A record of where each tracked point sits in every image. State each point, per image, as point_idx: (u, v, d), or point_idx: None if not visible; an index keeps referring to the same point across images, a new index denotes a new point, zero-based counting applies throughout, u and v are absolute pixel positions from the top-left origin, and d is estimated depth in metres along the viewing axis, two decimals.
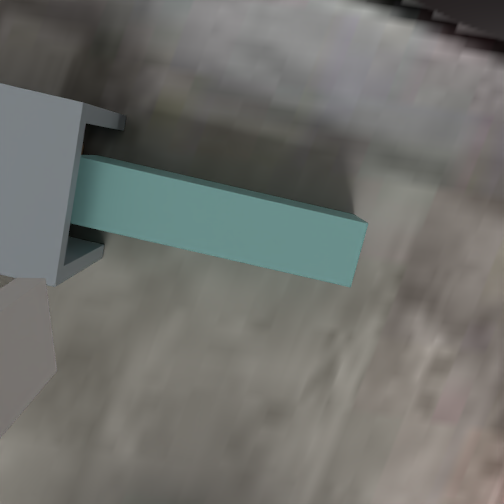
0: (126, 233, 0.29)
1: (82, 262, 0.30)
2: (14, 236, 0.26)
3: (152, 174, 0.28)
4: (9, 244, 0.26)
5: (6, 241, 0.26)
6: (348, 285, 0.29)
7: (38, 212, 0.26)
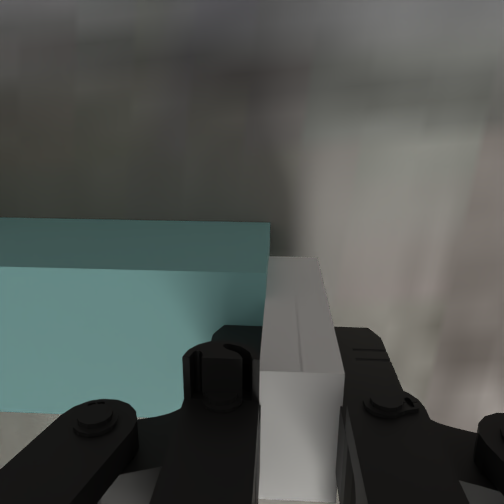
0: None
1: None
2: None
3: None
4: None
5: None
6: None
7: None
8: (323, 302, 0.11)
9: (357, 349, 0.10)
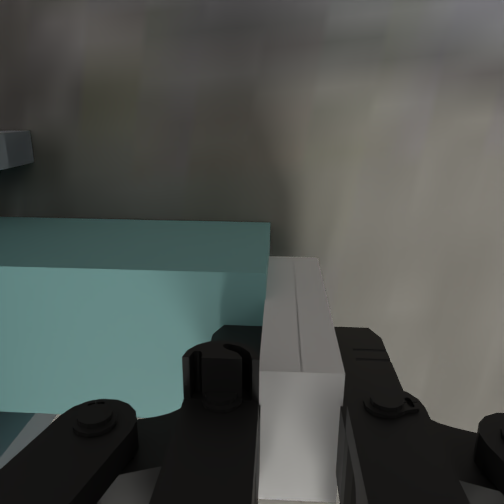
0: None
1: None
2: None
3: None
4: None
5: None
6: None
7: None
8: (323, 302, 0.11)
9: (357, 349, 0.10)
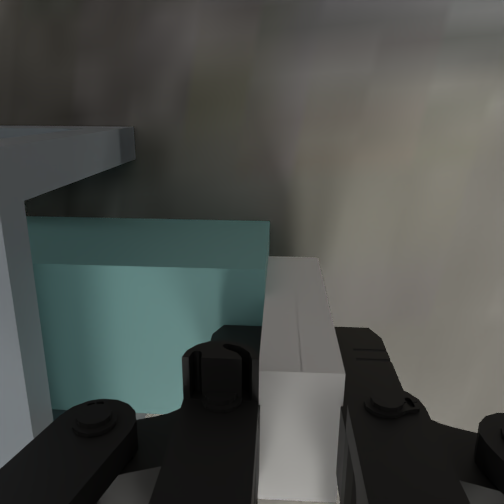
0: None
1: None
2: None
3: None
4: None
5: None
6: None
7: None
8: (324, 302, 0.11)
9: (358, 349, 0.10)
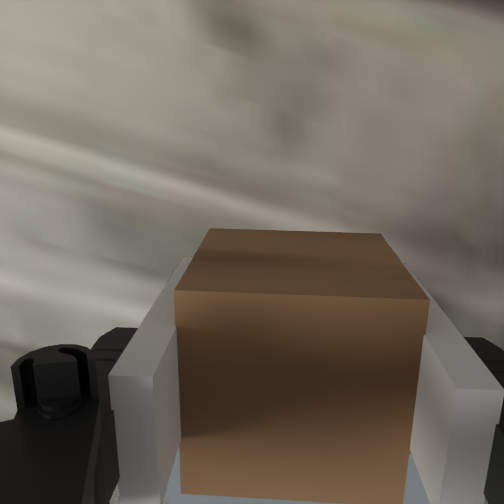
0: None
1: None
2: None
3: None
4: None
5: None
6: None
7: None
8: (438, 311, 0.11)
9: (483, 361, 0.10)
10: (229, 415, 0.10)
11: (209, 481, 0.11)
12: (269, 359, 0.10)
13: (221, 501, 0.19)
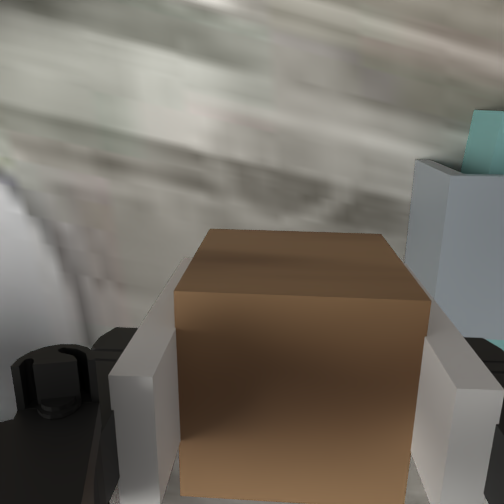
0: None
1: None
2: (473, 300, 0.29)
3: None
4: (464, 296, 0.29)
5: (467, 293, 0.29)
6: None
7: (497, 317, 0.29)
8: (438, 311, 0.11)
9: (483, 361, 0.10)
10: (229, 417, 0.10)
11: (208, 483, 0.11)
12: (269, 360, 0.10)
13: (483, 224, 0.28)
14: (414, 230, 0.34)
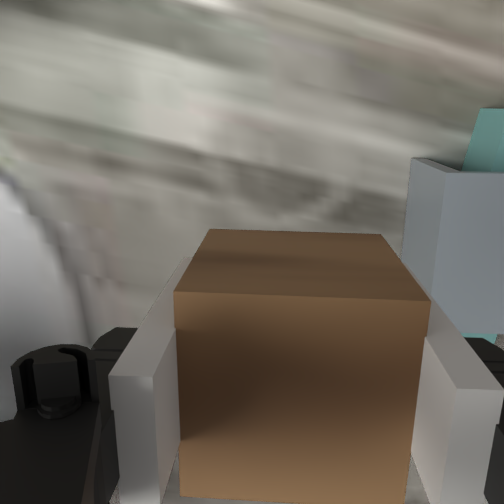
0: None
1: None
2: (469, 295, 0.30)
3: None
4: (460, 291, 0.30)
5: (463, 288, 0.30)
6: None
7: (493, 312, 0.30)
8: (438, 311, 0.11)
9: (483, 361, 0.10)
10: (228, 417, 0.10)
11: (208, 483, 0.11)
12: (268, 361, 0.10)
13: (478, 220, 0.28)
14: (410, 227, 0.35)
